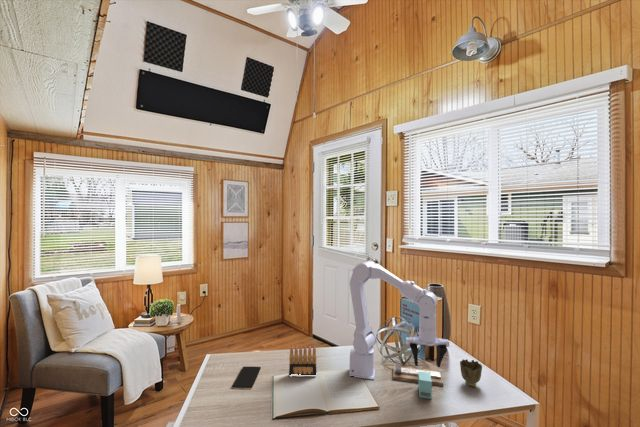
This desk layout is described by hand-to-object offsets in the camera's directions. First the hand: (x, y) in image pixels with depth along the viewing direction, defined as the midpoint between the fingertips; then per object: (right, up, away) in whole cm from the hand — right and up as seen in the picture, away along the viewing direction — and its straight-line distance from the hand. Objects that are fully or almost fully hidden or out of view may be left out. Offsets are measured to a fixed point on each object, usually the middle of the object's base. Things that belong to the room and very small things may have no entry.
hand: (427, 365), depth 112 cm
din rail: (0, -8, +10) cm, 13 cm away
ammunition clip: (-45, -9, +10) cm, 47 cm away
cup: (+18, -10, +5) cm, 21 cm away
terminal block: (-1, -9, -1) cm, 10 cm away
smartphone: (-66, -9, +8) cm, 67 cm away
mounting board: (0, -9, +10) cm, 14 cm away
